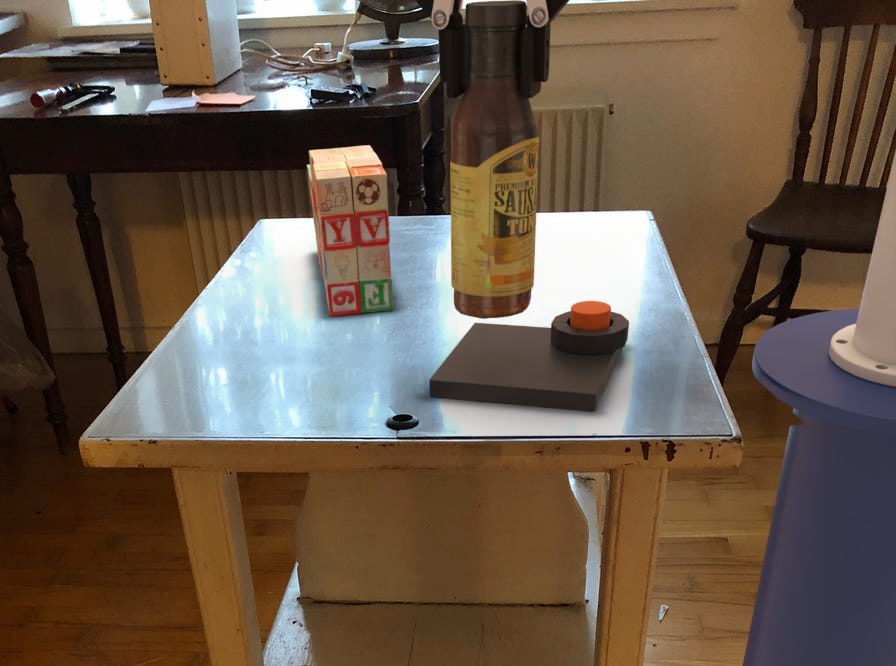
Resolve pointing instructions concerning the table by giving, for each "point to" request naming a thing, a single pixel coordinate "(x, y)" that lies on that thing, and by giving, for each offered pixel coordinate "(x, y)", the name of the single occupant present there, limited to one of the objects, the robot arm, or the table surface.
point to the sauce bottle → (493, 169)
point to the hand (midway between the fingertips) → (494, 91)
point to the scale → (533, 364)
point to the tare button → (590, 315)
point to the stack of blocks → (351, 228)
